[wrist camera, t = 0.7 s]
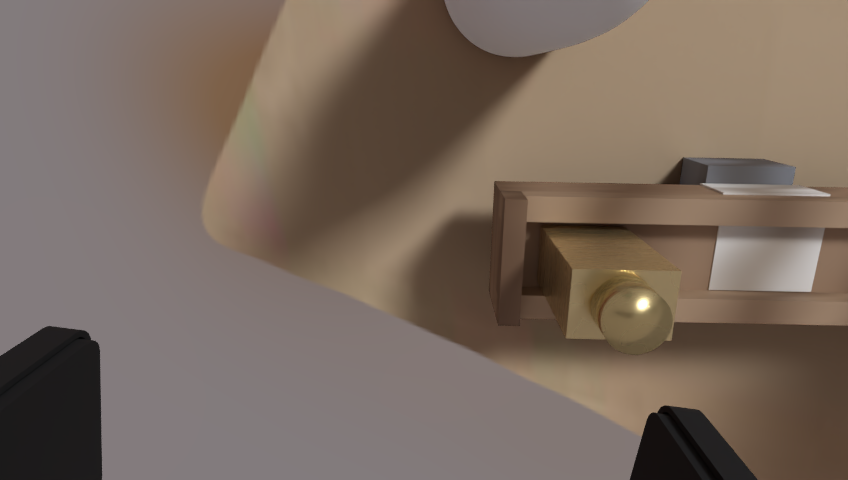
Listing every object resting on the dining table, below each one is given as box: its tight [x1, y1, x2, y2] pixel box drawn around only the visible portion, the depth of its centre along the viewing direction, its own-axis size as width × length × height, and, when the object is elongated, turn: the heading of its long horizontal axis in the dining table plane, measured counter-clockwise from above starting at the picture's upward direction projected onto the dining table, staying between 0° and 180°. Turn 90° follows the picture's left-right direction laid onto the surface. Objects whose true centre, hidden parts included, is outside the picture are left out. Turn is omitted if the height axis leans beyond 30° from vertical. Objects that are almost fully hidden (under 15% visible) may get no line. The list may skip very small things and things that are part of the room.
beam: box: [489, 158, 848, 326], centre depth 29 cm, size 26×8×8 cm, turn 89°
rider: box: [537, 225, 682, 355], centre depth 23 cm, size 4×3×8 cm
